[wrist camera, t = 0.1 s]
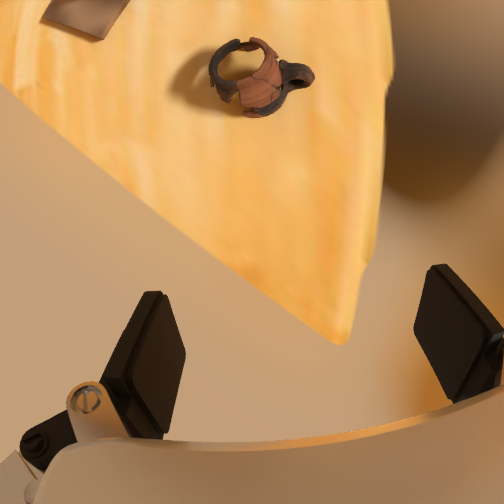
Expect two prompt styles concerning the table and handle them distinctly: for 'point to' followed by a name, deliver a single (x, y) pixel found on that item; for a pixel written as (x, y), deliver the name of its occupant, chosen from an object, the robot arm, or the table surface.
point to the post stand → (86, 14)
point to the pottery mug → (260, 79)
